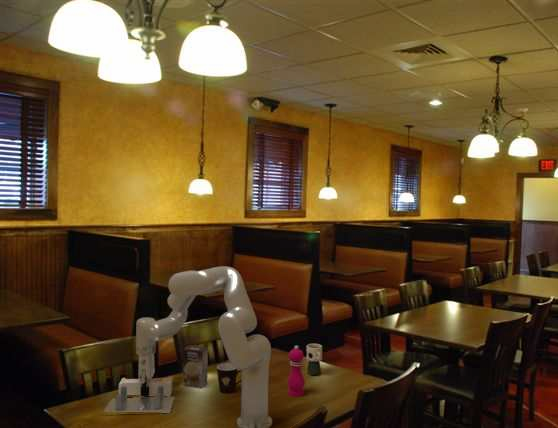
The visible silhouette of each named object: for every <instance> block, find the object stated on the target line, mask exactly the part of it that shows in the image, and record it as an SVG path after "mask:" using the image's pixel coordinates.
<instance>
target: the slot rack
mask: <svg viewBox="0 0 558 428" xmlns="http://www.w3.org/2000/svg"><path fill="white" fill-rule="evenodd" d="M174 402H175V396H170V397H163V386H158V388H157V394H155V395H154V397H133V398H127V386H122V387H121V395H119V394H116V396H115V397H113V398H111V399H110V401H109V402H108V404H107V406H106V407H105V409H104V410H103V413H104V412H162V413H170V414H171V412H172V409H171V408H173V406H174ZM172 405H173V406H172ZM170 411H171V412H170Z"/></svg>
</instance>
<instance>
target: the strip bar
mask: <svg viewBox="0 0 558 428" xmlns="http://www.w3.org/2000/svg"><path fill="white" fill-rule="evenodd" d="M145 381H146V382H147V380H145ZM122 386H127V395H141V380H140V379H139V378H126V377H122V378H121V380H120V382H119V384H118V395H121V387H122ZM148 386H149V395H155V394H157V388H158V386H163V396H167V397H172V396H171V395H172V394H173V393H172V392H173V376H168V378H167V377H166V378H165V377H155V378H151V379H148Z"/></svg>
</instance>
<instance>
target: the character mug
mask: <svg viewBox="0 0 558 428" xmlns="http://www.w3.org/2000/svg"><path fill="white" fill-rule="evenodd" d="M306 360H307V361H308V363H307V372H306V373H307V374H308V375H312V376H317V375H319V374H321V373H322V371H321V363H320V362H321V361H322V360H323V346H322V345H321V344H319V343H309V344H307V345H306Z"/></svg>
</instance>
